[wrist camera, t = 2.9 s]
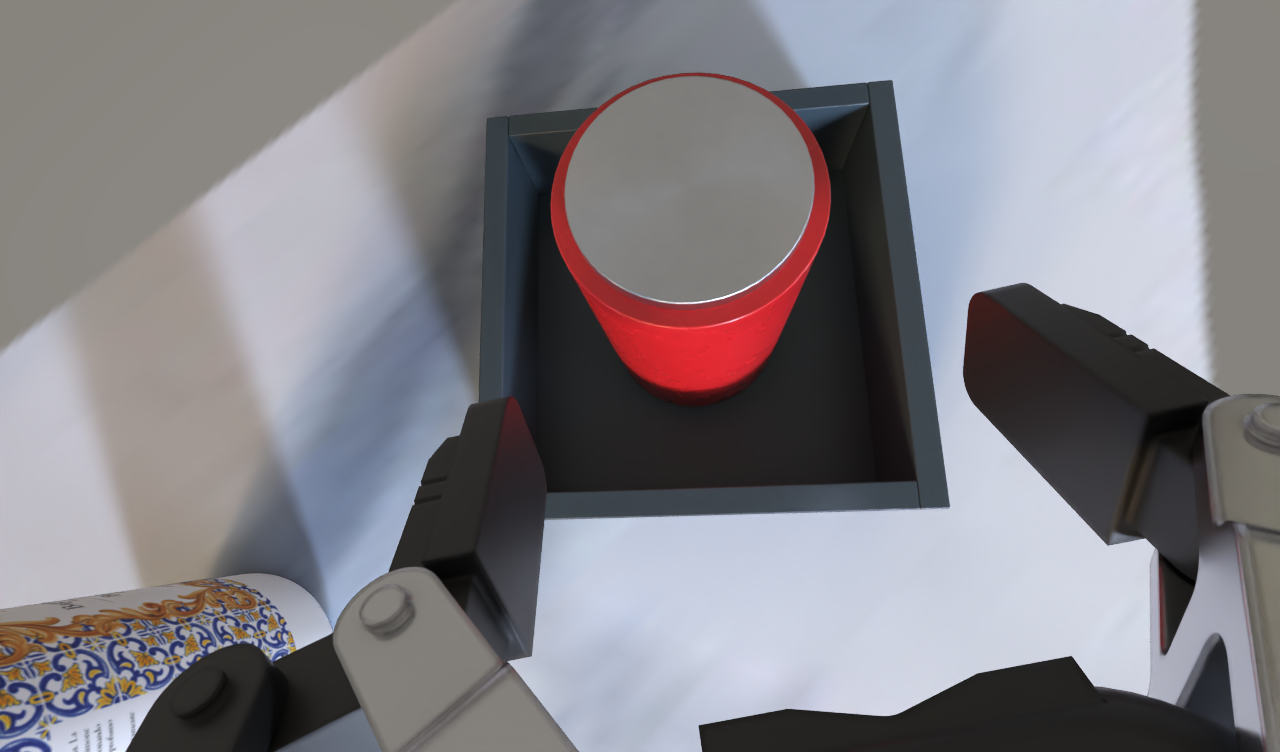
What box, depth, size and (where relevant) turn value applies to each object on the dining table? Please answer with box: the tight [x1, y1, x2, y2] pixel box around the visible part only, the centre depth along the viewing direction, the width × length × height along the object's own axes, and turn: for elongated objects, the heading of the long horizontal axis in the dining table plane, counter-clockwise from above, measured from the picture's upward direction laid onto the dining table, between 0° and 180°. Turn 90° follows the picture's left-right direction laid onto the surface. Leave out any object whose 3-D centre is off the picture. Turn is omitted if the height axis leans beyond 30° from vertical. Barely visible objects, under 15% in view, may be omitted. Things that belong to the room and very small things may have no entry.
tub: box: [479, 80, 950, 520], centre depth 21 cm, size 14×14×5 cm
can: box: [551, 73, 831, 407], centre depth 18 cm, size 6×6×10 cm
